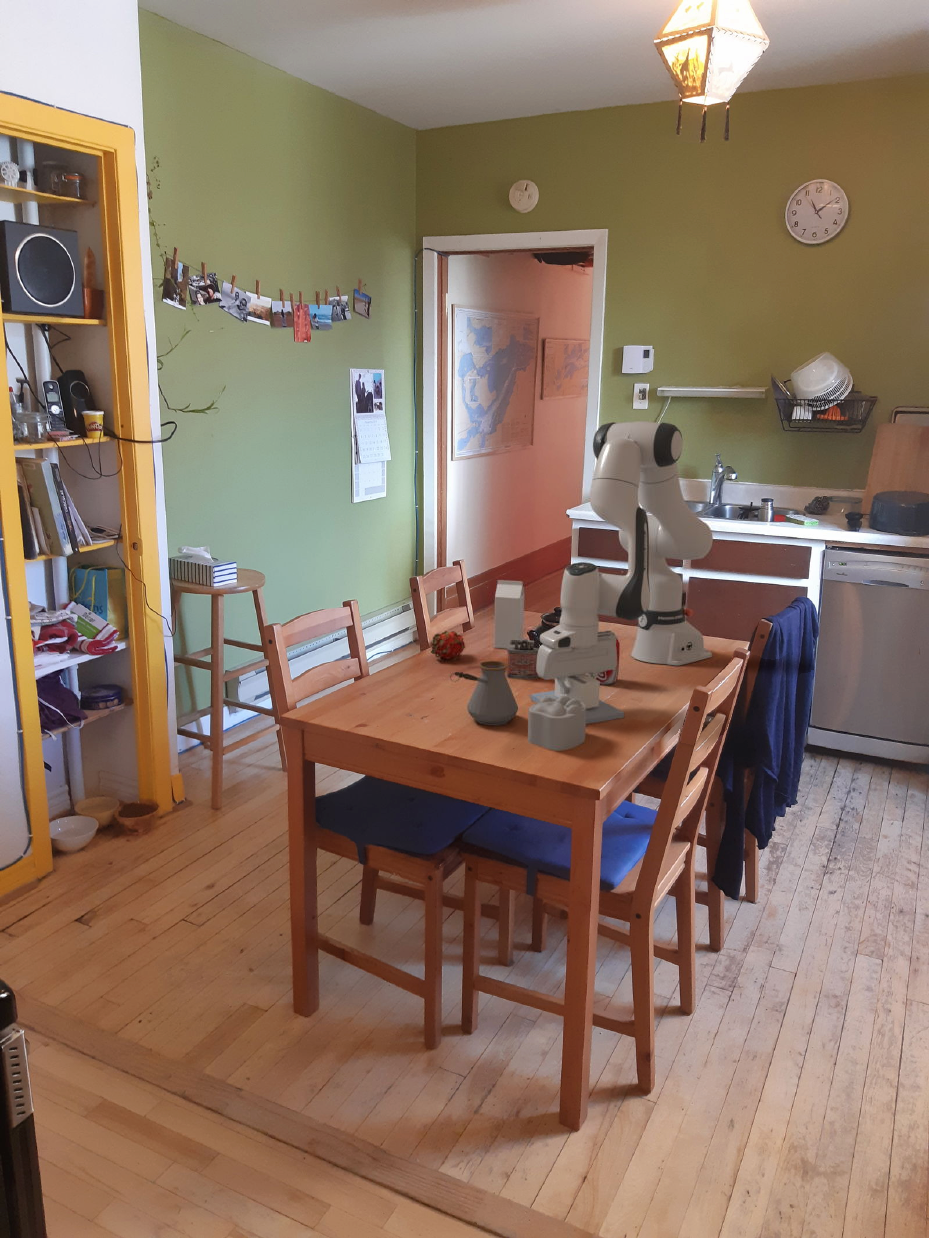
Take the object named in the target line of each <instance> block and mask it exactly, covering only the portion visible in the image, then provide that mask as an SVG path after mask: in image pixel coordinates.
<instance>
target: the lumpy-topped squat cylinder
mask: <svg viewBox="0 0 929 1238" xmlns="http://www.w3.org/2000/svg"><path fill="white" fill-rule="evenodd" d="M527 721H528V723H527V742H528V743H529V744H532V745H534V746H539V747H542V748H544V749H546V750H550V751H555V752H561V751H567V750H569V749H573V748H575V747H577V746H580V745H582V744H583V743H584V742H585V741H586V728H587V727H586V726H587V724H586V705H585V704H584V703H583V702H582V701H580V700H578V699H573V698H571V699H570V698H569V697H567V696H561V697H559V698H558V699H554V698H550V697H548V696H545V697H543V698H541V699H540V701H539V703H534V704H533V705H530V707H528V720H527Z"/></svg>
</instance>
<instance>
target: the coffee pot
mask: <svg viewBox="0 0 929 1238" xmlns="http://www.w3.org/2000/svg"><path fill="white" fill-rule="evenodd" d="M478 666H479V668H480V672H481V675H480V677H477V676H476V675H472V674H470V673H465V672H462V671H460V672H459V671H455V672H453V673H451V674H450V676H449V679H450V680H451V681H452V682H453V683H455V682H458V681H459V680H460V679H462V678H463V679H465V680H467V681H468V680H469V681H473V682H474V681H476V682H477V683H476V686H475V687H474V690H473V692H472V694H471V696H470V699H469V701H468V703H467V706H466V707H467V708H466V709H467V711H468V714H469V715H470V717H471V718H473V719H474V720H475V722H477V723H478V724H481V725H485V726H502V725H505V724H507V723H509V722H510V720H512V719H513V718H515V716H516V715H517V712H518V710H519V706H518V703H517V701H516V698H515V696H514V693H513V692H512V689H511V686H510V683H509V682H508V679H507V675H506V670H507V667H508V665H507V663H506V662H503V661H498V660H487V661H481V662H479V663H478ZM452 675H455V676H456V677H458V678H457V680H453V679H452Z"/></svg>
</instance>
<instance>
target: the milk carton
mask: <svg viewBox="0 0 929 1238" xmlns="http://www.w3.org/2000/svg"><path fill="white" fill-rule="evenodd" d="M523 584H524V583H523V581H519V580H506V579H505V580H503V579H501V580H499V579H498V580H497V585H496V589H495V590H496V591H495V595H494V629H493V630H494V636H493V638H494V639H493V641H494V642H493V647H494V648H495V649H496V648H497V649H506V650H507V648H508V647H515V645H510V640H511V639H519V640H523V639H524V626H525V625H524V621H525V619H524V618H525V615H524V614H525V590H524V585H523ZM520 646H521V645H518V647H520Z"/></svg>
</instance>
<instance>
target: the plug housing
mask: <svg viewBox="0 0 929 1238" xmlns="http://www.w3.org/2000/svg"><path fill="white" fill-rule="evenodd" d="M564 683H565V685H566V686H568V687H570V690H569V694H565V695H563V694H561V693H560V685H559V683H558V682H557V680H556V678H554V691H555V696H557V697H561V696H567V697H569V698H570V699H571V698H573V699H578V700H580V701H582V702H583V703H584V704H585V705H586V708H591V707H597V706H599V699H600V685H601V684H600V681H598V680H596V679H594V678H592V677H590V676H589V674H588V675H587V674H580V675H574V676H567V677H566V681H564Z"/></svg>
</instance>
